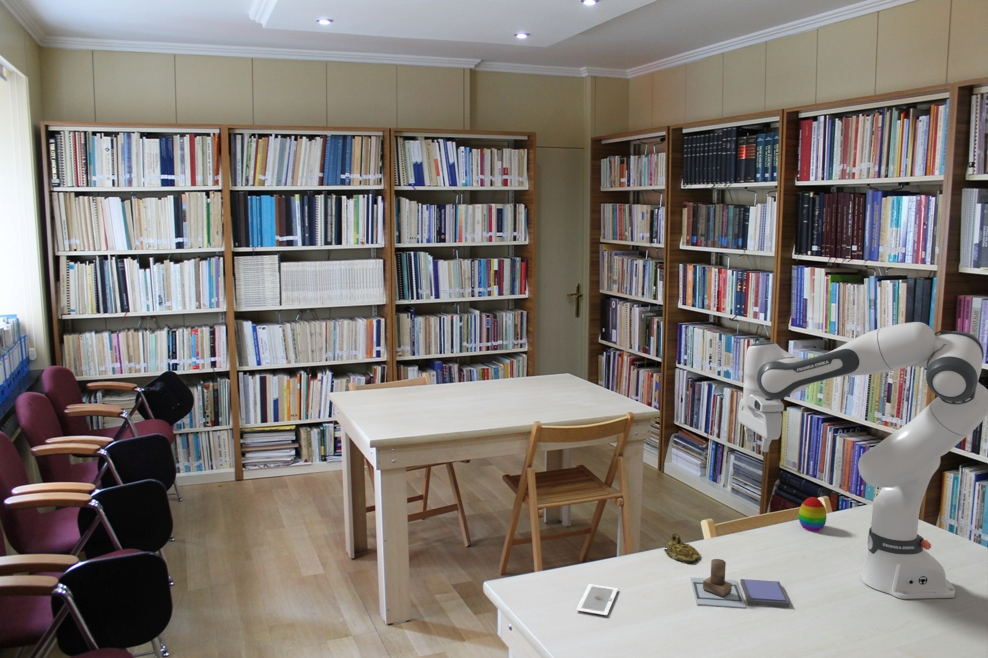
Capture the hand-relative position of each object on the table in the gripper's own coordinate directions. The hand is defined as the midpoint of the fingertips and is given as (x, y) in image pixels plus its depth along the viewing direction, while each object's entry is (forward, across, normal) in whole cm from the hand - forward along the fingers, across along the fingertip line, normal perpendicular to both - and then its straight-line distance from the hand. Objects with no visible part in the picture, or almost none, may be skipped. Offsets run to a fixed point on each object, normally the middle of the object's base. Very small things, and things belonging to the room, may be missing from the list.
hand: (756, 446), depth 228 cm
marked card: (+33, +20, -18) cm, 43 cm away
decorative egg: (+33, -19, +29) cm, 48 cm away
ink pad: (+33, +23, -7) cm, 41 cm away
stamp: (+33, +20, -18) cm, 43 cm away
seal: (+34, -4, -19) cm, 39 cm away
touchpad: (+34, +22, -51) cm, 64 cm away
